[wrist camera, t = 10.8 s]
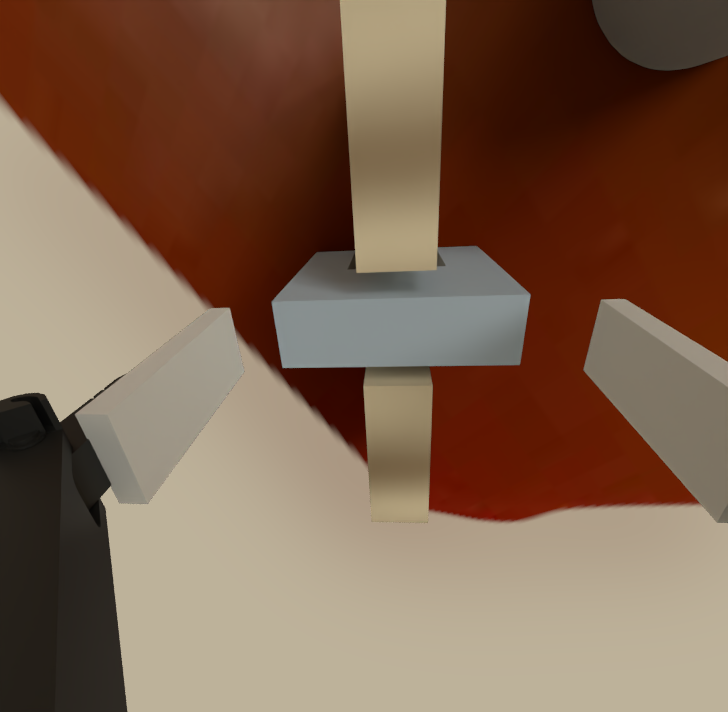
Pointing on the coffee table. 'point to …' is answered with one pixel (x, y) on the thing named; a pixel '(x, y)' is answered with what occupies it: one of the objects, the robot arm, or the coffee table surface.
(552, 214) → the coffee table surface
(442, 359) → the bridge plate
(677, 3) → the coffee mug
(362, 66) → the maple rail
